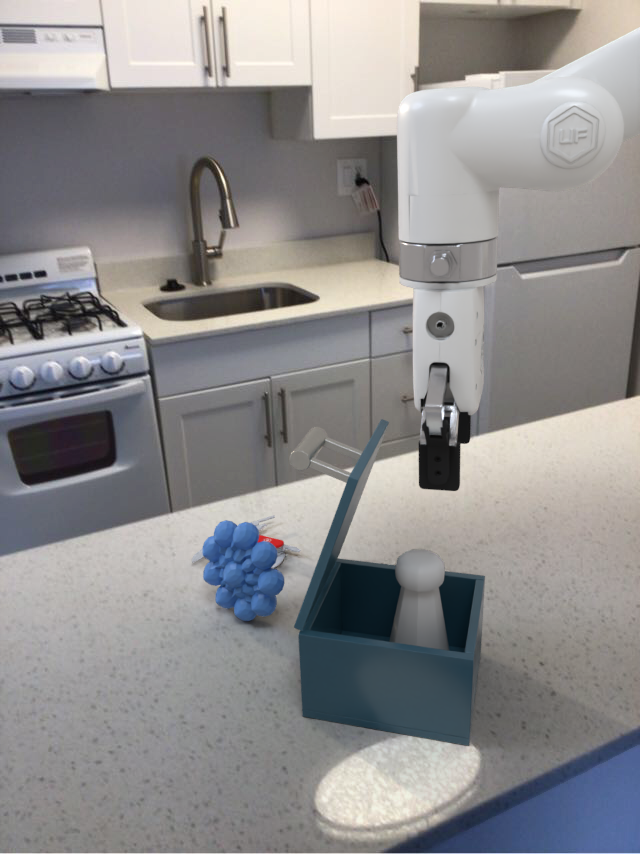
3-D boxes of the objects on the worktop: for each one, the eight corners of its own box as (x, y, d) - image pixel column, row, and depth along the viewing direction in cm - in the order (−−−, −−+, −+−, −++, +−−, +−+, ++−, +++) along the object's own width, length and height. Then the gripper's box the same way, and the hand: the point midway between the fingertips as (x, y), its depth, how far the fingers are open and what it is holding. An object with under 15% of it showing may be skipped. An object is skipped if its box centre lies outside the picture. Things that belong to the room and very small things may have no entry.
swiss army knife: (324, 536, 97) (324, 522, 97) (269, 590, 86) (269, 575, 85) (249, 519, 102) (248, 505, 102) (188, 568, 91) (186, 553, 90)
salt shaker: (373, 676, 70) (372, 555, 66) (415, 650, 74) (417, 533, 69) (419, 710, 66) (422, 583, 61) (462, 680, 70) (467, 557, 65)
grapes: (313, 620, 80) (309, 520, 76) (268, 652, 75) (261, 547, 71) (237, 582, 87) (230, 489, 83) (192, 609, 83) (182, 511, 78)
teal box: (480, 652, 74) (485, 575, 71) (469, 746, 63) (473, 660, 60) (337, 631, 78) (335, 557, 75) (302, 716, 67) (298, 634, 64)
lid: (389, 421, 68) (326, 396, 69) (358, 480, 57) (283, 449, 58) (338, 555, 75) (281, 531, 76) (302, 631, 64) (235, 602, 64)
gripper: (490, 283, 50) (484, 514, 56) (502, 244, 65) (496, 429, 72) (378, 284, 52) (384, 506, 58) (415, 246, 67) (417, 425, 73)
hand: (446, 463), depth 65 cm, fingers open, 9 cm apart
